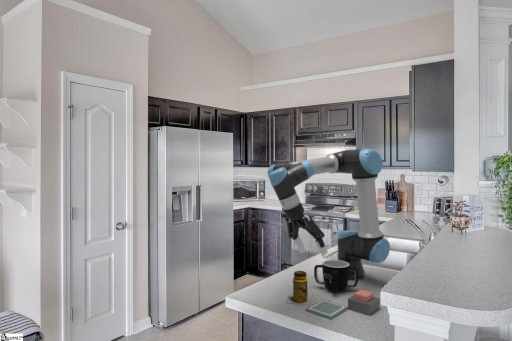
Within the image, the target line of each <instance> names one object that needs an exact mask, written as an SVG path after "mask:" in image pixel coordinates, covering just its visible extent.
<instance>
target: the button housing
mask: <svg viewBox="0 0 512 341" xmlns="http://www.w3.org/2000/svg"><path fill="white" fill-rule="evenodd" d="M380 300H381V299H380V297H378V296H377V297H376V296H374V295H373V300H371V301H370V302H368V303H367V302H363V301H360V300H356V299H354V295H351V296H349V297H348V298H347V307H348V310H352V311H354V312H356V313H360V314H364V315H367V316H371V315H372V314H373V313H375V312H376V311H378V310H379V309H380V308H381V306H380V305H381V303H380Z"/></svg>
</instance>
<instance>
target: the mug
mask: <svg viewBox="0 0 512 341" xmlns="http://www.w3.org/2000/svg"><path fill="white" fill-rule="evenodd" d="M318 268H320V269H321V268H322V271H321V272H322V277H323V278H322V279H323V280H320V279H319V276H318ZM349 270H353V271H355V280H353V281H354V282H353V283H349V280H348V279H349ZM313 275H314V276H313V278H314V280H315V281H316V283H317V284H319V285H324V287H325V289H326V290H327V291H329V292H332V293H342V292H346V290H347V288H355V287H356V286H357V284H358V283H359V280H358V270H357V269H356V268H352V267H350V265H349V263H347V262H345V261H341V260H338V259H326V260H324V261H323V262H321V264H316V265H315V266H314V267H313Z"/></svg>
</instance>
